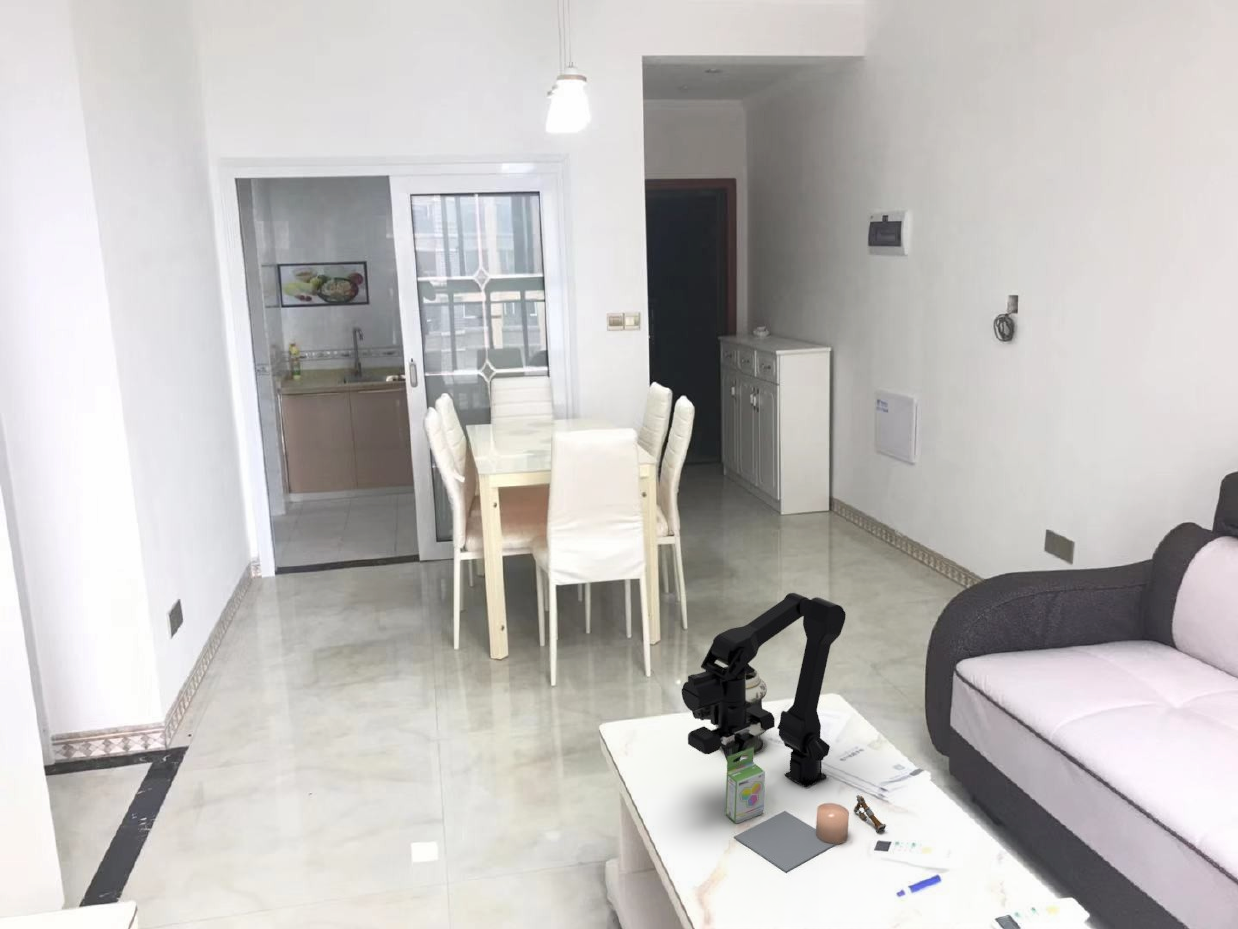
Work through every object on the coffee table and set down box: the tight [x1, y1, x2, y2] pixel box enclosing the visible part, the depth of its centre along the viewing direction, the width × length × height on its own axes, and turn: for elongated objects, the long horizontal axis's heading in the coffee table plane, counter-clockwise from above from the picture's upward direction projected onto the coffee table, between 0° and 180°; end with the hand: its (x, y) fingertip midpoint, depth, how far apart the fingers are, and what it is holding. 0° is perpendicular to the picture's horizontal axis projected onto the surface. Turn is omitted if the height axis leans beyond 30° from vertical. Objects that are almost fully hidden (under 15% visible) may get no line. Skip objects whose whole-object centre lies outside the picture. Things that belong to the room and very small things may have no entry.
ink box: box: [724, 747, 766, 824], centre depth 195 cm, size 7×4×13 cm, turn 120°
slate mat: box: [733, 810, 838, 874], centre depth 187 cm, size 14×14×1 cm
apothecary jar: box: [715, 668, 768, 757], centre depth 222 cm, size 12×12×18 cm
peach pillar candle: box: [815, 802, 850, 845], centre depth 188 cm, size 6×6×5 cm
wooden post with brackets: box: [853, 794, 887, 834], centre depth 192 cm, size 2×8×4 cm, turn 27°
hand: (732, 767), depth 197 cm, fingers closed
